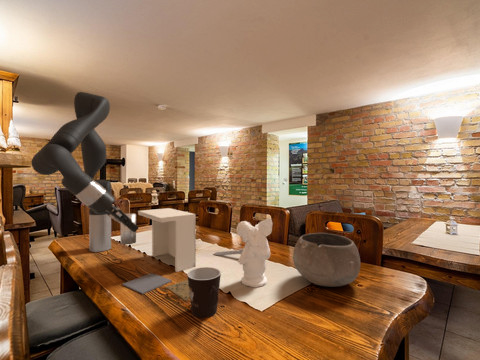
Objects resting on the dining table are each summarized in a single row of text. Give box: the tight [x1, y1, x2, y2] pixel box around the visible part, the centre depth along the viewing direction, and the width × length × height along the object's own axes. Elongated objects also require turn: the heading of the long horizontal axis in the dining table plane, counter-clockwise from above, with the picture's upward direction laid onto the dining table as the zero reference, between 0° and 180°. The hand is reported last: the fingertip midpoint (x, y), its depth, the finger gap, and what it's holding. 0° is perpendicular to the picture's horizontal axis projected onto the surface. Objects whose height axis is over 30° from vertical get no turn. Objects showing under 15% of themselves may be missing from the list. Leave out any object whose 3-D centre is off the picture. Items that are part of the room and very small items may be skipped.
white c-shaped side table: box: [137, 207, 197, 273], centre depth 100 cm, size 24×14×21 cm, turn 40°
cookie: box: [164, 278, 190, 301], centre depth 78 cm, size 12×12×1 cm
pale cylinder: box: [120, 213, 137, 245], centre depth 87 cm, size 5×5×10 cm
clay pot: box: [292, 232, 361, 288], centre depth 81 cm, size 21×21×15 cm
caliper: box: [212, 248, 244, 256], centre depth 107 cm, size 20×1×6 cm, turn 68°
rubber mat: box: [121, 272, 173, 295], centre depth 81 cm, size 11×11×1 cm
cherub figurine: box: [236, 216, 274, 288], centre depth 84 cm, size 12×12×22 cm
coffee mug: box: [186, 266, 222, 319], centre depth 62 cm, size 12×9×10 cm
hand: (133, 228), depth 88 cm, fingers closed on pale cylinder, 5 cm apart
